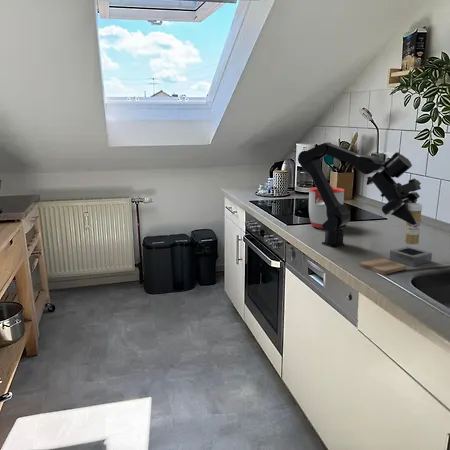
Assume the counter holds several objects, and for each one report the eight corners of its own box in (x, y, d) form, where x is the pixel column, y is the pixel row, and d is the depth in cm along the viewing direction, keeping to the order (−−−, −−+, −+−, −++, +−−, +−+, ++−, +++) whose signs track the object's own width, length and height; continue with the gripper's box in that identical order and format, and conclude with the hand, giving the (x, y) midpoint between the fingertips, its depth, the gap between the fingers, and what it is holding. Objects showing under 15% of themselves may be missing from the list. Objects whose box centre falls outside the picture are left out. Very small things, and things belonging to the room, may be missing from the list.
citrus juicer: (301, 229, 189) (302, 184, 184) (313, 221, 204) (314, 179, 199) (337, 233, 182) (339, 186, 177) (346, 224, 197) (348, 181, 192)
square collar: (389, 258, 147) (390, 250, 146) (407, 254, 152) (407, 246, 151) (413, 266, 139) (414, 257, 138) (431, 261, 144) (432, 252, 143)
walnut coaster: (359, 266, 140) (359, 262, 140) (380, 260, 145) (380, 257, 145) (384, 274, 132) (384, 271, 132) (405, 269, 137) (405, 265, 137)
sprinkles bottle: (409, 245, 142) (412, 206, 138) (401, 241, 146) (404, 203, 143) (422, 244, 143) (425, 204, 139) (413, 240, 147) (416, 202, 143)
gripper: (394, 173, 134) (427, 213, 130) (416, 168, 148) (447, 204, 143) (368, 195, 142) (399, 233, 137) (392, 188, 155) (420, 223, 150)
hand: (417, 222), depth 141 cm, fingers closed on sprinkles bottle, 4 cm apart
